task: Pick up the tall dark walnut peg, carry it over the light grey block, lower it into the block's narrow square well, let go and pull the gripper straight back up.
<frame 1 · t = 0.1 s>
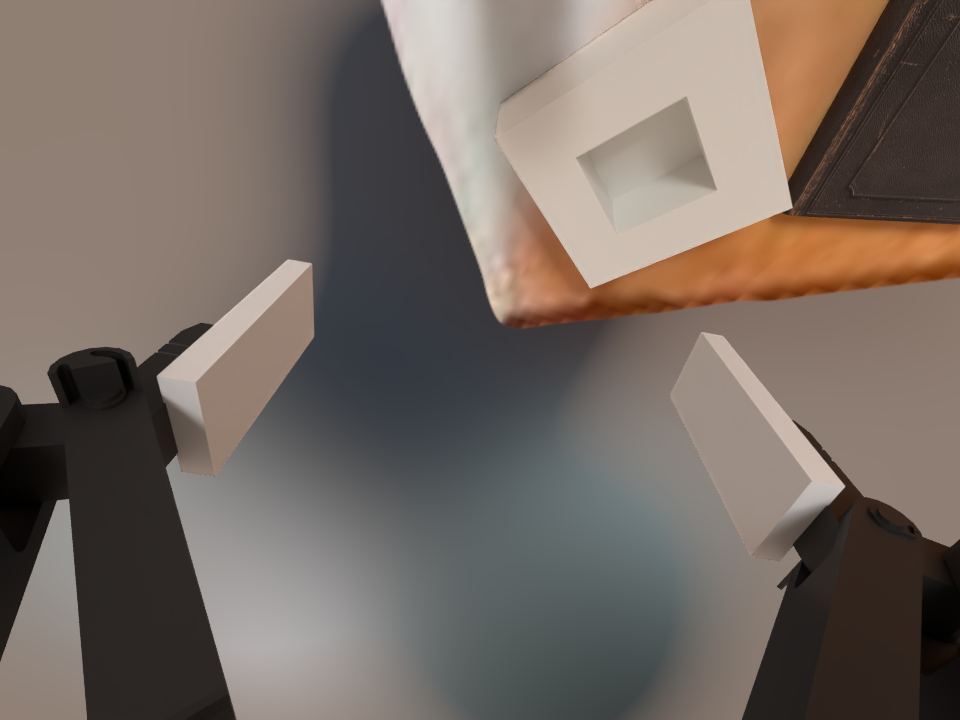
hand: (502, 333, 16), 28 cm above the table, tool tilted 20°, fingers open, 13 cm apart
grey well block: (637, 135, 37), on the table
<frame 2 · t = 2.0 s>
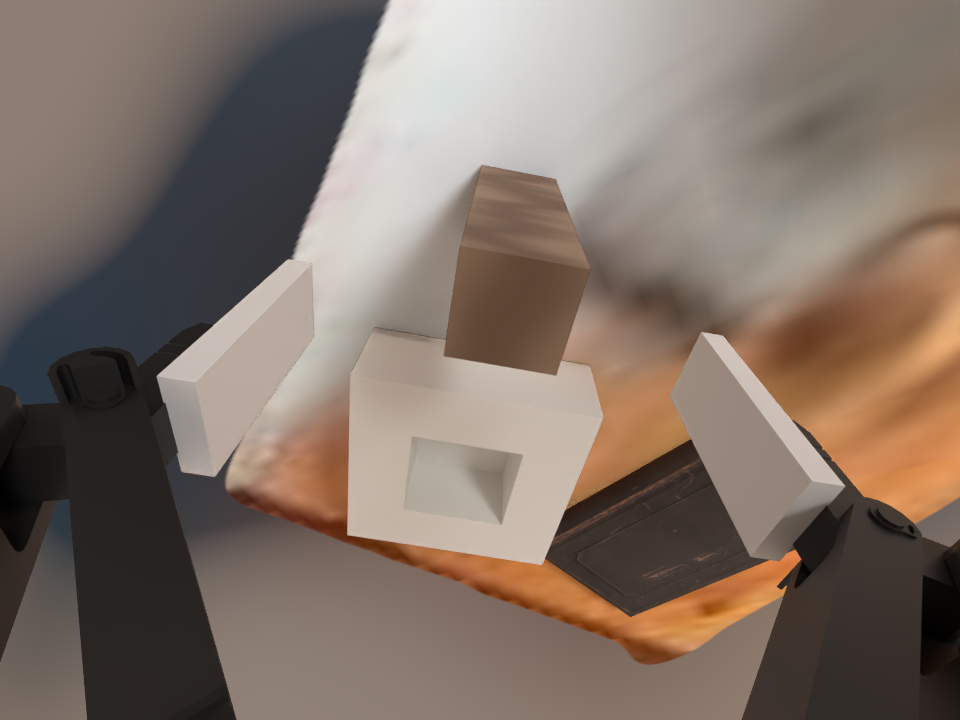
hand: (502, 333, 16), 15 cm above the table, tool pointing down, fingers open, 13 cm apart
grey well block: (466, 427, 38), on the table
hardcover book: (675, 513, 43), on the table
walnut peg: (511, 209, 28), on the table
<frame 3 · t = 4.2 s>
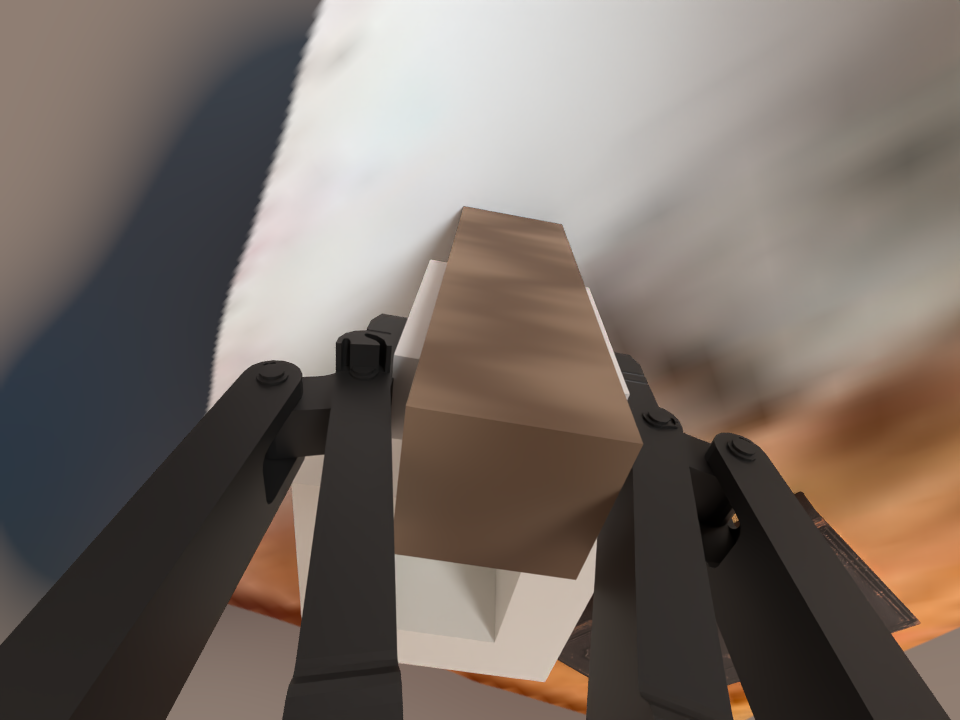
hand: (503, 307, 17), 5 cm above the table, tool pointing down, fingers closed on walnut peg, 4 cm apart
grey well block: (451, 513, 31), on the table
hardcover book: (701, 601, 37), on the table
walnut peg: (503, 262, 21), on the table, touching gripper
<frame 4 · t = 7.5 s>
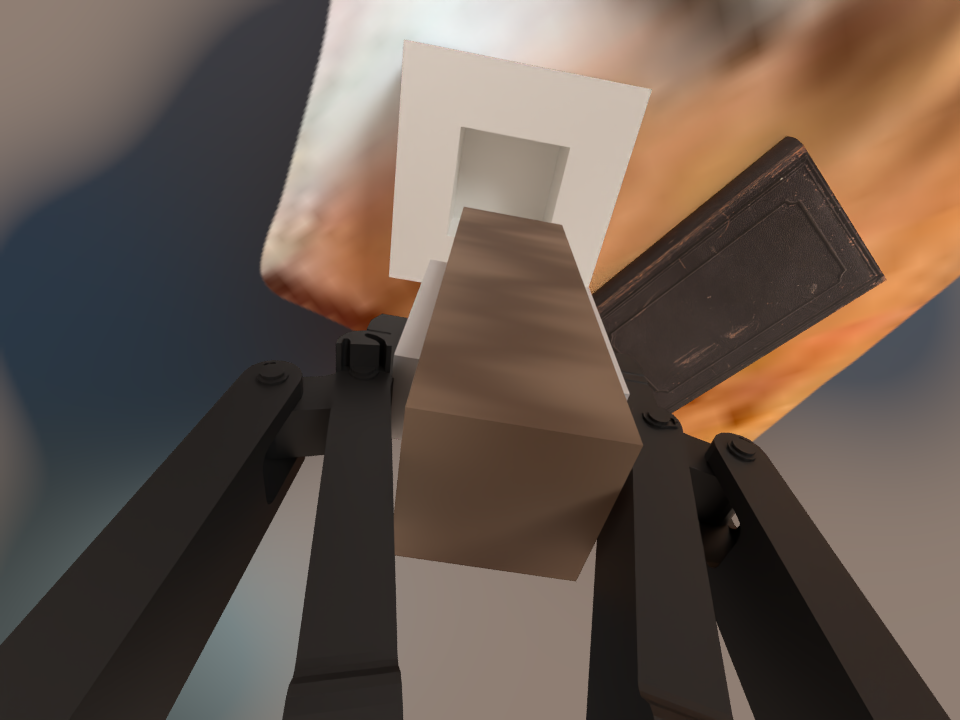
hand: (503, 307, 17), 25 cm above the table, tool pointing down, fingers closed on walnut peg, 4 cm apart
grey well block: (505, 177, 38), on the table
hardcover book: (706, 293, 44), on the table
walnut peg: (503, 262, 21), point 20 cm above the table, touching gripper
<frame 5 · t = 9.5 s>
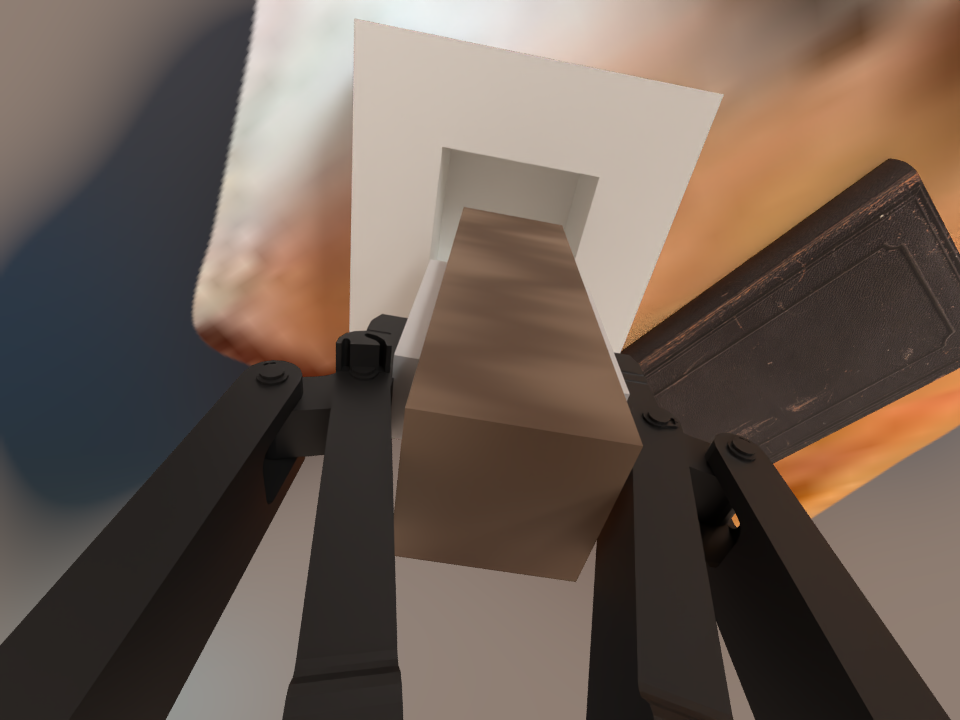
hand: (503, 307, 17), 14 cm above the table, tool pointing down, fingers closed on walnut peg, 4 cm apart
grey well block: (505, 209, 29), on the table
hardcover book: (762, 353, 34), on the table
walnut peg: (503, 263, 21), point 9 cm above the table, touching gripper
when the fingers open (8 cm above the table, at t = 11.3 s): walnut peg drops 3 cm, resting on grey well block.
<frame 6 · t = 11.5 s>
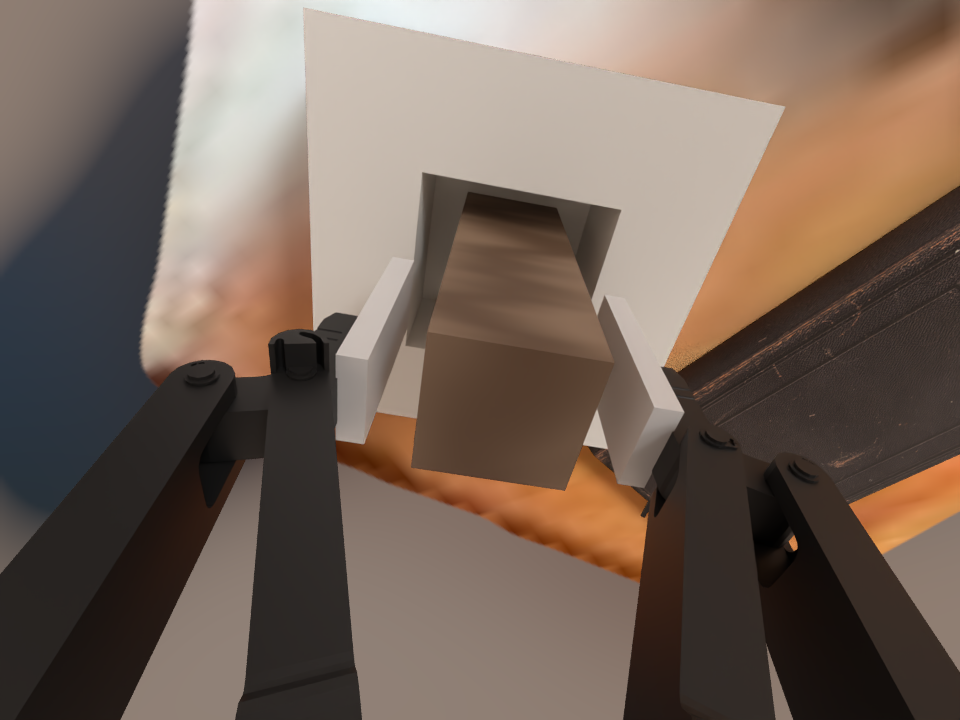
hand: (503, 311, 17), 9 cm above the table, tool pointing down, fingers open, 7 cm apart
grey well block: (503, 239, 24), on the table
hardcover book: (800, 400, 30), on the table
walnut peg: (503, 243, 24), point 1 cm above the table, touching grey well block
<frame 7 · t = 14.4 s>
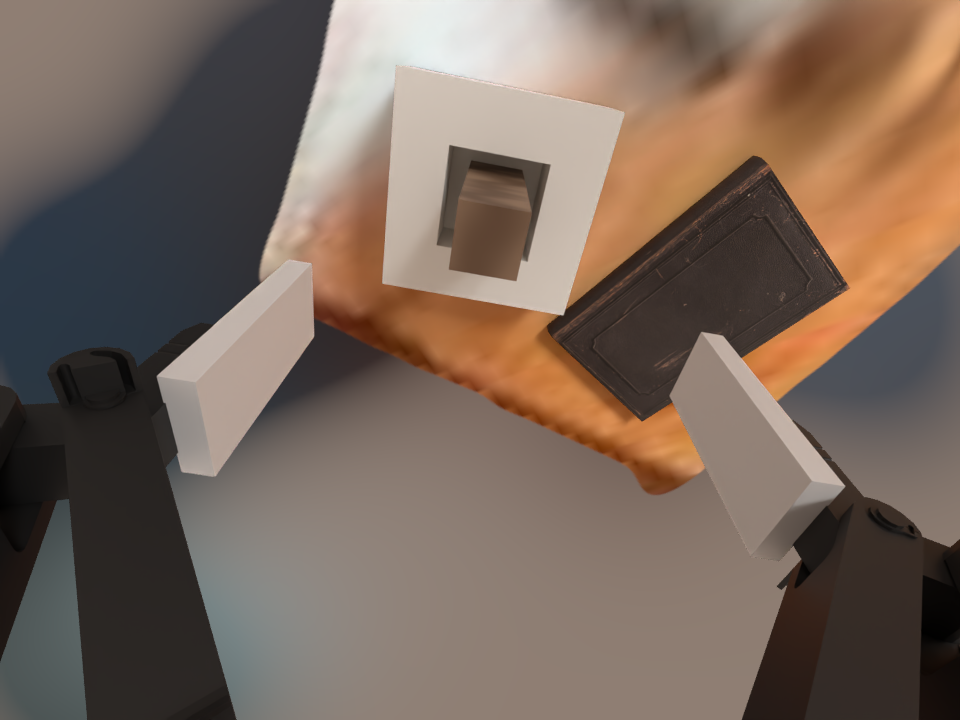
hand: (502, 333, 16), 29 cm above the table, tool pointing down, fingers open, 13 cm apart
grey well block: (492, 190, 41), on the table
hardcover book: (684, 301, 46), on the table
walnut peg: (492, 191, 40), point 1 cm above the table, touching grey well block
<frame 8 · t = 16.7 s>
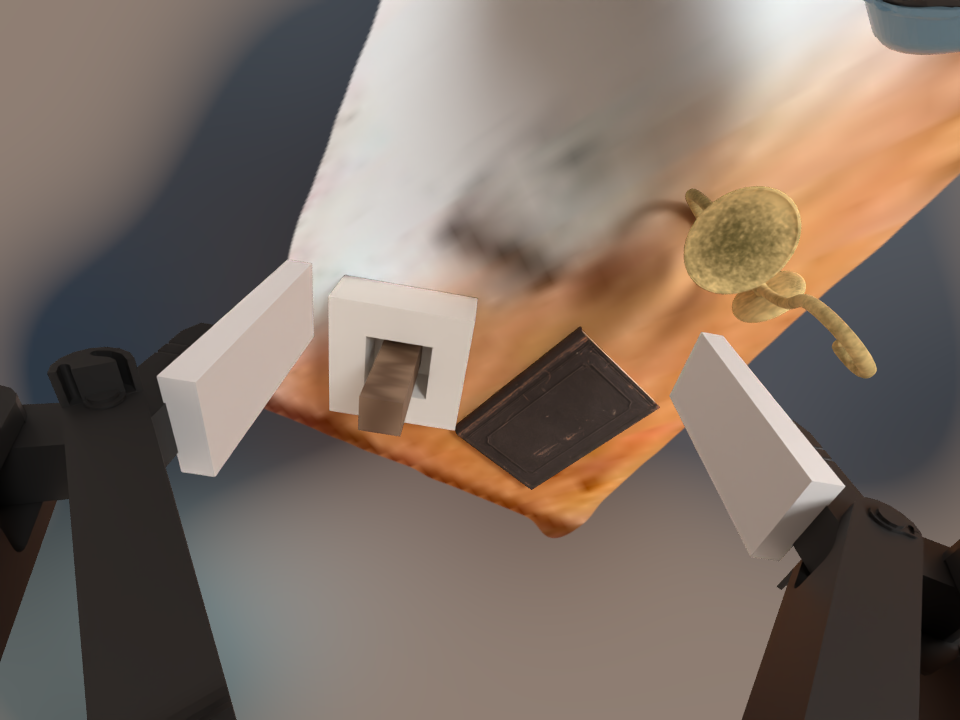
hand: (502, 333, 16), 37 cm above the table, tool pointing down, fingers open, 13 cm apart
grey well block: (406, 343, 59), on the table
hardcover book: (552, 409, 65), on the table
wall sconce: (707, 226, 50), on the table
walnut peg: (405, 346, 58), point 1 cm above the table, touching grey well block
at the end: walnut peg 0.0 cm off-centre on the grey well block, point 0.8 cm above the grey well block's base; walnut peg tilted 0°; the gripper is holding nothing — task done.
